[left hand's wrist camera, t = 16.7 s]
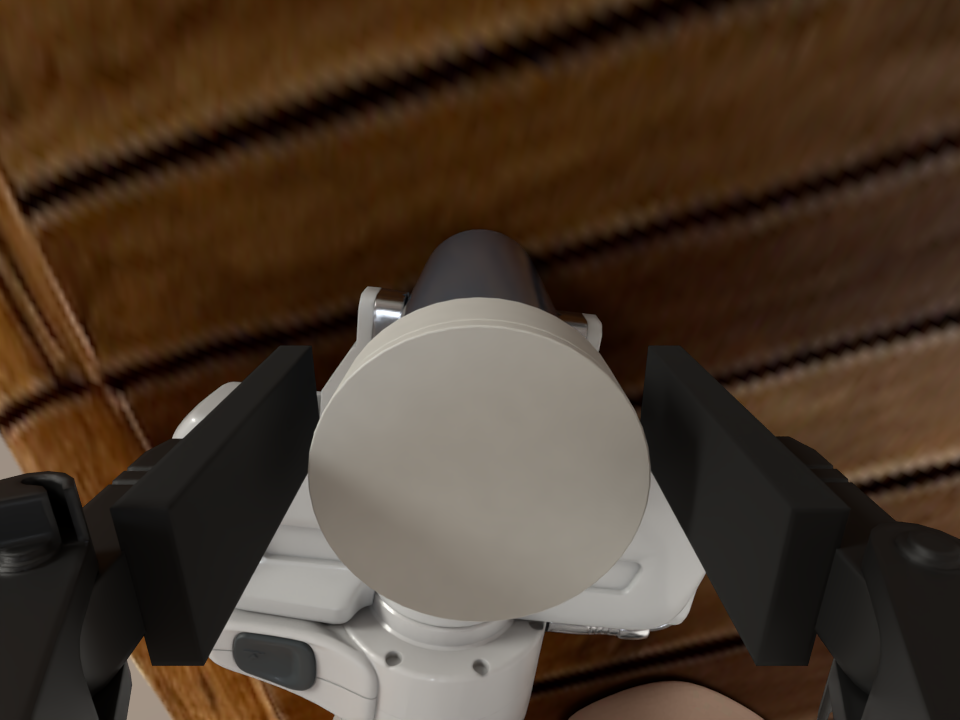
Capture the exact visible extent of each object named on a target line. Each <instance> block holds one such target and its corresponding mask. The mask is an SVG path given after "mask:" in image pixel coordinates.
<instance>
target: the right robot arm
mask: <svg viewBox="0 0 960 720" xmlns="http://www.w3.org/2000/svg"><path fill="white" fill-rule="evenodd" d="M408 299H409V292H405V291H398V290H391V289H384V288H379V287H367V288H366V289H365V290H364V291H363V292H362V294H361V298H360V303H359V309H358V327H357V341H356V342H355V343H354V345H353V346H352V348H351V349H350V350H349V352H348V353H347V355H346V356H345V358H344V359H343V360H342V362H341V363H340V365H339V366H338V367H337V369H336V370H335V372H334V373H333V375H332V376H331V378H330V379H329V380H328V382H327V383H326V385H325V386H324V388H323V389H322V391H321V392H319V391H317V400H318V409H319V418H320V417H321V415H322V413H323V411H324V409H325V408H326V406H327V404H328V403H329V401H330V399H331V398H332V396H333V394H334V393H335V391H336V390H337V388H338V386H339V385H340V383H341V381H342V380H343V378H344V377H345V375H346V373H347V372H348V370H349V368H350V367H351V365H352V363H353V362H354V360H355V359H356V357H357V356H358V355H359V354H360V352H361V351H362V350H363V349H364V347H365V346H366V345H367V344H368V343H369V342H370V341H371V340H372V339H373V338H374V337H375V336H377V335H378V334H379V333H380V332H381V331H382V330H383V329H385V328H386V327H388V326H389V325H391V324H392V323H394V322H395V321H396V320H398V319H399V317H400V315H401V313H402V311H403V309H404V307H405V305H406V303H407V301H408ZM556 311H557V313H558V315H559V317H560V319H561V320H562V321H564V322H565V323H567V324H568V325H570V326H571V327H573V328H574V329H575V330H576V331H578V332H579V333H580V334H581V335H582V336H583V337H585V338H586V339H587V340H588V341H589V342H590V343H591V344H592V346H593V347H594V348H595V349H596V350H597V351H598V352H599V347H600V343H601V338H602V323H601V322H600V320H599V319H598V318H597V316H596V315H593V314H585V313H577V312H568V311H559V310H556ZM240 383H241V382H229V383H226V384H224V385H222V386H221V387H219V388H218V389H217V390H216V391H214V392H213V393H212V394H210V395H209V396H208V397H207V398H205V399H204V400H203V401H201V402H200V403H199V404H198V405H197V406H196V407H195V408H194V409H193V410H192V411H191V412H190V413H189V414H188V415H187V416H186V417H185V418H184V420H183V421H182V422H181V423H180V425H179V426H178V427H177V429H176V431H175V433H174V435H173V438H184V437H185V436H186V435H187V434H188V433H189V432H190V431H191V430H192V429H193V428H194V427H195V426H196V425H197V424H198V423H199V422H200V421H202V420H203V419H204V418H205V417H206V416H207V415H208V414H209V413H210V412H211V411H212V410H213V409H214V408H215V407H216V406H217V405H218V404H219V403H220V402H221V401H223V400H224V399H225V398H226V397H227V396H228V395H229V394H230V393H231V392H232V391H233V390H234V389H235V388H236V387H237V386H238V385H239V384H240ZM705 574H706V572H705V570H704V568H703V566H702V565H701V563H700V561H699V559H698V557H697V555H696V553H695V552H694V550H693V548H692V546H691V544H690V542H689V541H688V539H687V537H686V535H685V533H684V531H683V529H682V528H681V526H680V524H679V522H678V520H677V518H676V516H675V515H674V513H673V511H672V509H671V507H670V505H669V504H668V502H667V500H666V498H665V496H664V494H663V492H662V491H661V489H660V487H659V485H658V483H657V481H656V480H655V478H654V476H653V474H652V472H651V480H650V491H649V496H648V502H647V507H646V510H645V513H644V515H643V518H642V521H641V524H640V526H639V528H638V530H637V532H636V534H635V536H634V538H633V540H632V542H631V543H630V545H629V546H628V548H627V549H626V551H625V552H624V554H623V555H622V556H621V558H620V559H619V560H618V561H617V562H616V563H615V564H614V566H613V567H612V568H611V569H610V570H609V571H608V572H607V573H606V574H605V575H604V576H602V577H601V578H600V579H599V580H598V581H597V582H595V583H594V584H593V585H592V586H590V587H589V588H587V589H586V590H584V591H583V592H581V593H580V594H578V595H577V596H575V597H573V598H571V599H569V600H567V601H566V602H564V603H562V604H560V605H557V606H555V607H552V608H550V609H547V610H545V611H542V612H539V613H535V614H532V615H528V616H524V617H520V618H514V619H508V620H502V621H487V622H474V621H458V620H451V619H444V618H439V617H435V616H431V615H427V614H423V613H420V612H417V611H414V610H412V609H409V608H406V607H403V606H401V605H399V604H397V603H395V602H393V601H391V600H389V599H387V598H385V597H384V596H382V595H381V594H379V593H377V592H376V591H374V590H373V589H371V588H370V587H368V586H367V585H366V584H365V583H363V582H362V581H361V580H360V579H359V578H357V577H356V576H355V575H354V574H353V573H352V572H351V571H350V570H349V569H348V568H347V567H346V566H345V565H344V564H343V563H342V562H341V561H340V559H339V558H338V557H337V555H336V554H335V552H334V551H333V550H332V548H331V547H330V546H329V544H328V542H327V540H326V538H325V537H324V535H323V533H322V531H321V529H320V527H319V524H318V522H317V519H316V516H315V514H314V511H313V507H312V502H311V498H310V493H309V484H308V474H307V476H306V478H305V480H304V481H303V483H302V485H301V487H300V489H299V491H298V492H297V494H296V496H295V498H294V500H293V502H292V504H291V505H290V507H289V509H288V511H287V513H286V515H285V516H284V518H283V520H282V522H281V524H280V526H279V528H278V529H277V531H276V533H275V535H274V537H273V539H272V541H271V542H270V544H269V546H268V548H267V550H266V552H265V553H264V555H263V557H262V559H261V561H260V563H259V565H258V566H257V568H256V570H255V572H254V574H253V576H252V577H251V579H250V581H249V583H248V585H247V587H246V589H245V590H244V592H243V594H242V596H241V598H240V600H239V602H238V603H237V605H236V607H235V609H234V611H233V613H232V614H231V616H230V618H229V620H228V622H227V624H226V626H225V627H224V629H223V631H222V633H221V635H220V637H219V639H218V640H217V642H216V644H215V646H214V648H213V650H212V651H211V653H210V655H209V658H210V659H211V660H212V661H213V662H215V663H216V664H218V665H220V666H222V667H224V668H227V669H229V670H232V671H235V672H238V673H241V674H244V675H247V676H250V677H253V678H256V679H259V680H261V681H264V682H267V683H270V684H272V685H275V686H278V687H280V688H283V689H285V690H288V691H290V692H292V693H294V694H297V695H299V696H301V697H303V698H305V699H307V700H309V701H311V702H313V703H315V704H317V705H319V706H321V707H323V708H324V709H326V710H328V711H330V712H331V713H333V714H335V716H334V718H333V720H524V717H525V715H526V712H527V708H528V704H529V700H530V696H531V691H532V687H533V682H534V677H535V673H536V668H537V664H538V658H539V654H540V650H541V645H542V641H543V636H544V633H545V631H547V632H550V631H551V632H557V633H567V634H577V635H587V634H588V635H593V634H603V635H606V634H607V635H614V636H616V637H617V638H621V639H628V640H640V639H646V638H647V637H648V636H649V632H650V631H658V630H662V629H665V628H667V627H669V626H671V625H677V624H680V623H682V621H683V620H684V619H685V618H686V617H687V615H688V613H689V611H690V608H691V605H692V602H693V599H694V596H695V593H696V590H697V588H698V586H699V584H700V582H701V581H702V579H703V577H704V575H705Z"/></svg>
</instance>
